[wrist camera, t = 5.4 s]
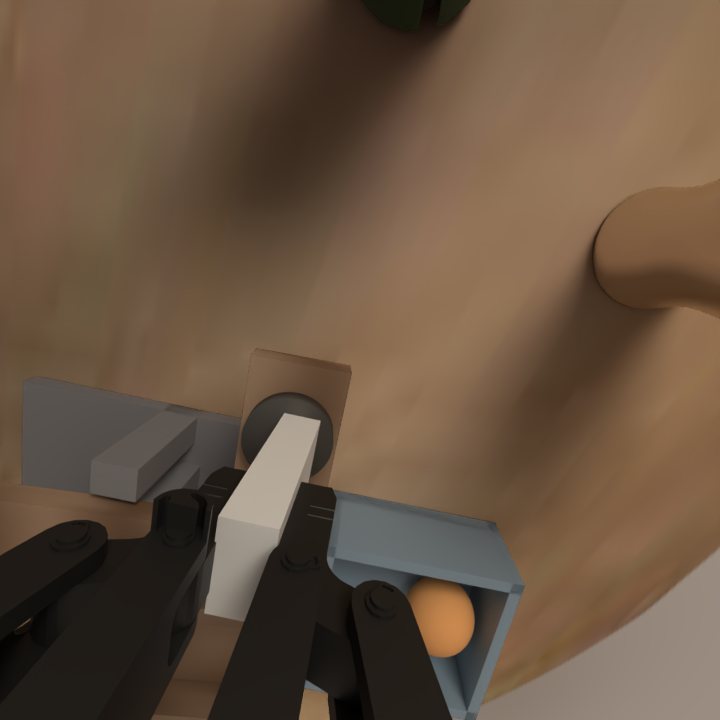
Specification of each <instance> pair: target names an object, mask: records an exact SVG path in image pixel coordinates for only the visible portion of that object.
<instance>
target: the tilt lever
mask: <svg viewBox="0 0 720 720" xmlns="http://www.w3.org/2000/svg"><path fill="white" fill-rule="evenodd" d="M351 374H352V372H351V366H350V365H345V364H340V363H334V362H329V361H324V360H318V359H313V358H307V357H302V356H296V355H291V354H286V353H280V352H275V351H269V350H264V349H258V348H256V350H255V351H254V352H253V353H252V355H251V360H250V366H249V373H248V380H247V386H246V393H245V400H244V406H243V413H242V420H241V427H240V433H239V440H238V447H237V453H236V460H235V467H234V468H235V469H239V470H244V471H248V469H249V467H250V466H251V464H252V463H253V461H254V460H255V458H256V457H257V455H258V453H259V452H260V450H261V449H262V447H263V446H264V444H265V443H266V441H267V439H268V438H269V436H270V435H271V433H272V432H273V430H274V429H275V427H276V425H277V424H278V422H279V421H280V419H281V418H282V416H283V415H284V413H287V414H291V415H296V416H301V417H305V418H310V419H315V420H319V421H321V422H320V427H319V432H318V437H317V442H316V447H315V452H314V457H313V462H312V467H311V472H310V477H309V482H308V483H310V484H315V485H320V486H324V487H328V483H329V478H330V473H331V468H332V464H333V459H334V454H335V450H336V445H337V440H338V436H339V431H340V426H341V421H342V417H343V412H344V407H345V403H346V398H347V393H348V389H349V384H350V379H351ZM152 510H153V502H146V501H139V500H137V501H136V502H130V501H126V500H121V499H116V498H111V497H106V496H101V495H94V494H87V493H80V492H72V491H65V490H57V489H50V488H43V487H35V486H28V485H20V484H13V483H6V482H0V555H2V554H3V553H5V552H7V551H9V550H10V549H12V548H14V547H16V546H18V545H19V544H21V543H23V542H25V541H27V540H28V539H30V538H32V537H34V536H35V535H37V534H39V533H41V532H43V531H44V530H46V529H48V528H50V527H53V526H55V525H57V524H60V523H63V522H68V521H73V520H91V521H95V522H99V523H100V524H102V525H103V526H104V527H106V530H107V533H108V539H134V538H142V537H145V536H146V535H147V534H148V533H149V532H150V530H151V520H152ZM205 604H206V599H205V601H204V603H203V605H202V607H201V609H200V611H199V612H198V618H197V625H196V629H195V632H194V635H193V637H192V639H191V641H190V643H189V645H188V647H187V649H186V651H185V653H184V655H183V657H182V659H181V661H180V663H179V665H178V667H177V669H176V671H175V673H174V675H173V677H172V679H171V681H170V683H169V685H168V687H167V689H166V691H165V693H164V695H163V697H162V699H161V701H160V703H159V705H158V707H157V709H156V711H155V713H154V715H153V717H152V718H151V720H207V719H208V716H209V713H210V711H211V708H212V705H213V703H214V700H215V698H216V695H217V692H218V690H219V687H220V684H221V682H222V679H223V676H224V674H225V671H226V668H227V666H228V663H229V660H230V658H231V655H232V653H233V650H234V647H235V645H236V642H237V639H238V637H239V634H240V631H241V629H242V626H243V623H244V622H243V621H238V620H233V619H229V618H224V617H219V616H215V615H210V614H205V613H204V611H205ZM28 621H30V619H29V620H27V621H26V622H25V623H23V624H22V625H21V626H23V625H24V624H26V623H27V622H28ZM21 626H19V627H21ZM19 627H18V628H19Z"/></svg>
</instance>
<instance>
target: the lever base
mask: <svg viewBox="0 0 720 720" xmlns="http://www.w3.org/2000/svg"><path fill="white" fill-rule="evenodd" d="M241 420H242V419H241V418H236V417H231V416H226V415H221V414H217V413H212V412H207V411H202V410H197V409H192V408H188V407H183V406H178V405H173V404H168V403H164V402H159V401H154V400H149V399H144V398H139V397H135V396H130V395H125V394H120V393H115V392H111V391H106V390H101V389H96V388H91V387H86V386H82V385H77V384H72V383H67V382H62V381H58V380H53V379H48V378H43V377H38V376H37V377H34V378H31V379H28V380H25V381H23V431H22V485H28V486H35V487H43V488H50V489H57V490H65V491H72V492H80V493H87V494H94V495H101V496H106V497H111V498H116V499H121V500H126V501H130V502H136V501H137V500H139V501H146V502H153V500H154V498H156V497H157V496H159V495H160V494H161V493H164V492H167V491H170V490H174V489H182V488H186V489H196V490H198V489H199V488H200V487H201V485H203V484H204V482H205V480H206V479H207V478H208V477H209V476H210V474H211V473H213V472H215V471H217V470H218V469H220V468H222V467H224V466H226V467H230V468H234V467H235V460H236V453H237V447H238V440H239V433H240V427H241Z"/></svg>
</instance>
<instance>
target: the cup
mask: <svg viewBox="0 0 720 720" xmlns="http://www.w3.org/2000/svg"><path fill="white" fill-rule="evenodd" d="M334 493H335V495H336V498H337V502H336V507H335V513H334V518H333V524H332V529H331V535H330V541H329V546H328V552H327V562H328V565H329V567H330V569H331V571H332V572H333V573H334V574H335V575H336V576H337V577H338V578H339V579H340V580H342V581H343V582H345V583H347V584H349V585H350V586H352V587H354V588H356V586H358V585H359V584H361V583H362V582H364V581H370V580H379V581H384V582H387V583H389V584H391V585H393V586H395V587H397V588H398V589H399V590H400V591H401V592H402V593H403V594H405V596H407V593H408V592H409V590H410V588H411V587H412V586H413V585H414V584H415V583H416V582H417V581H418V580H420V579H421V578H423V577H426V576H428V577H433V578H438V579H443V580H448V581H452V582H457V583H458V584H459V585H460V586H461V587H462V588H463V589H464V590H465V592H466V593H467V595H468V597H469V598H470V601H471V603H472V606H473V610H474V616H475V625H474V631H473V634H472V637H471V639H470V641H469V643H468V644H467V646H466V647H465V648H464V649H463V650H462V651H461V652H459V653H458V654H456V655H453V656H450V657H435V656H432V655H429V657H430V659H431V662H432V665H433V668H434V670H435V673H436V676H437V679H438V681H439V684H440V687H441V690H442V692H443V695H444V698H445V701H446V703H447V706H448V709H449V712H450V714H451V717H453V718H458V719H463V720H476V717H477V714H478V712H479V709H480V706H481V704H482V701H483V698H484V696H485V693H486V690H487V687H488V685H489V682H490V679H491V676H492V674H493V671H494V668H495V666H496V663H497V660H498V657H499V655H500V652H501V649H502V646H503V644H504V641H505V638H506V636H507V633H508V630H509V627H510V625H511V622H512V619H513V616H514V614H515V611H516V608H517V606H518V603H519V600H520V597H521V595H522V592H523V589H524V587H525V585H524V583H523V581H522V579H521V576H520V574H519V572H518V570H517V568H516V566H515V564H514V562H513V559H512V557H511V555H510V553H509V551H508V549H507V547H506V545H505V542H504V540H503V538H502V536H501V534H500V532H499V530H498V528H497V525H496V523H492V522H487V521H482V520H478V519H473V518H468V517H463V516H458V515H453V514H448V513H443V512H439V511H434V510H429V509H424V508H419V507H414V506H409V505H404V504H400V503H395V502H390V501H385V500H380V499H375V498H370V497H365V496H361V495H356V494H351V493H346V492H341V491H336V490H334ZM304 688H305V689H310V690H315V691H320V692H325V691H323V690H322V689H320V688H318V687H317V686H315V685H314V684H312V683H310V682H309V681H307V680H305V686H304ZM325 693H326V692H325Z"/></svg>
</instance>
